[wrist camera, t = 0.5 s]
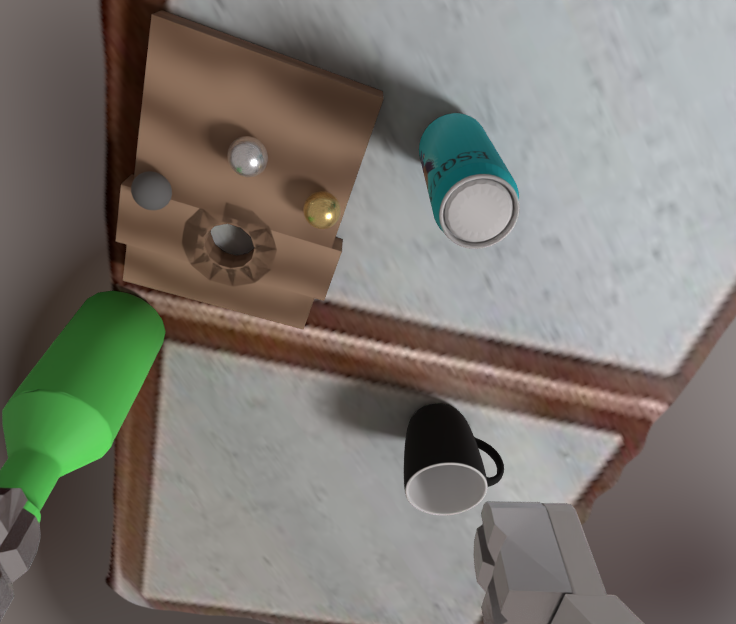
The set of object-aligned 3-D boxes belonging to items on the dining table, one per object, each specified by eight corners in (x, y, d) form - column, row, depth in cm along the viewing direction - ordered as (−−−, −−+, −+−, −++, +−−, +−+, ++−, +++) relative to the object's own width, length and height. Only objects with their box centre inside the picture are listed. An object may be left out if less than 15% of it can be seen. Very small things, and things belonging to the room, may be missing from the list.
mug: (391, 440, 69) (395, 509, 61) (411, 389, 64) (418, 456, 56) (481, 455, 71) (496, 524, 62) (507, 406, 66) (527, 474, 57)
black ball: (140, 160, 46) (127, 174, 43) (179, 172, 47) (167, 186, 44) (137, 194, 48) (123, 209, 45) (174, 205, 48) (163, 221, 46)
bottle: (87, 346, 60) (-58, 558, 40) (78, 280, 56) (-91, 482, 35) (168, 357, 61) (68, 570, 41) (167, 293, 57) (52, 498, 36)
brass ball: (310, 180, 47) (307, 195, 44) (346, 192, 48) (344, 207, 45) (301, 213, 49) (297, 229, 46) (335, 223, 49) (333, 240, 47)
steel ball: (236, 125, 44) (227, 137, 42) (274, 138, 45) (268, 151, 42) (228, 162, 46) (220, 175, 43) (265, 174, 47) (259, 188, 44)
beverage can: (408, 122, 47) (423, 189, 34) (474, 97, 46) (513, 157, 33) (428, 182, 50) (449, 263, 37) (490, 160, 49) (532, 237, 36)
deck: (148, 5, 42) (137, 8, 40) (394, 95, 45) (395, 102, 43) (121, 264, 55) (112, 277, 52) (314, 318, 58) (312, 332, 56)
